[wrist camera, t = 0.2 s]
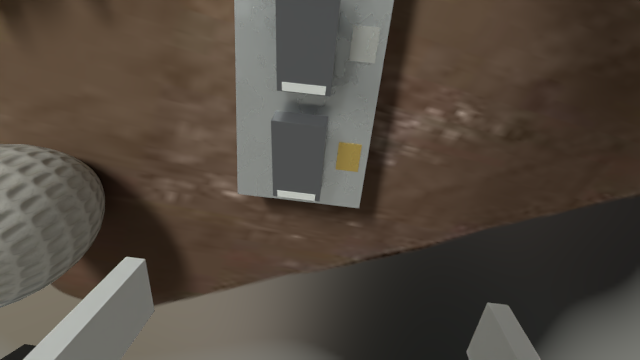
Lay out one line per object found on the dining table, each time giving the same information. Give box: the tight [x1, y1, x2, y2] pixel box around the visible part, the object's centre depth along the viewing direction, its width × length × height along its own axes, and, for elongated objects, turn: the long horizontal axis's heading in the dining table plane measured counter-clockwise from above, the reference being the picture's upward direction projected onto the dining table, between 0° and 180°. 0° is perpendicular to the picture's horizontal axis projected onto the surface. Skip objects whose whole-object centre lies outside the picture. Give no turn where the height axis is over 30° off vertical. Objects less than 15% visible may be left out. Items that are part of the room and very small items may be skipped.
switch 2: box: [271, 111, 328, 201], centre depth 31 cm, size 9×5×2 cm, turn 175°
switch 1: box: [275, 0, 341, 97], centre depth 27 cm, size 9×5×2 cm, turn 175°
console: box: [235, 0, 394, 208], centre depth 31 cm, size 34×14×6 cm, turn 175°
